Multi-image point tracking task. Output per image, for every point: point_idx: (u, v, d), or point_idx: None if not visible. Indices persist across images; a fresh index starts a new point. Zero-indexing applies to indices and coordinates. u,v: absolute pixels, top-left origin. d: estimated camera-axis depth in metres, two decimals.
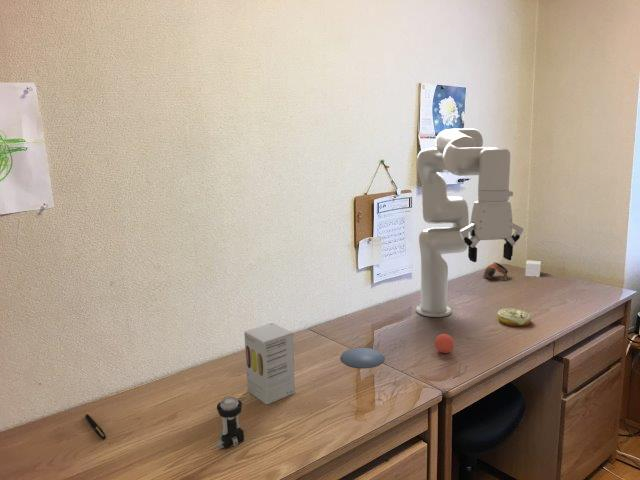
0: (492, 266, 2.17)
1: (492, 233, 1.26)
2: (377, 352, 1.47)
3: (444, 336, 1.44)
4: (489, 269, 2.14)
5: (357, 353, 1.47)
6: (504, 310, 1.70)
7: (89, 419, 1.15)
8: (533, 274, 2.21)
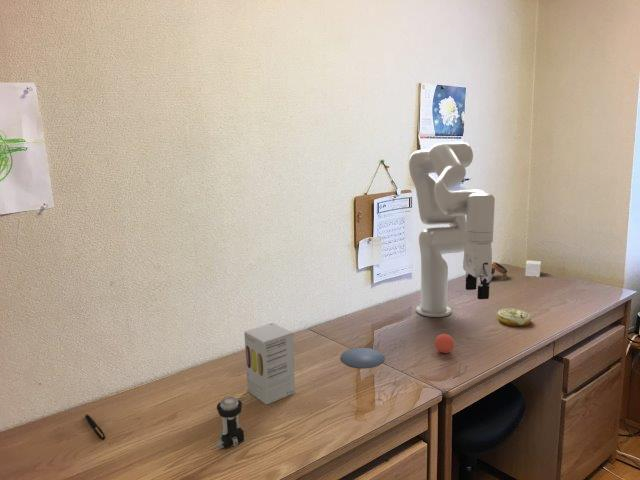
0: None
1: None
2: (377, 352, 1.47)
3: (444, 336, 1.44)
4: None
5: (357, 353, 1.47)
6: (504, 310, 1.70)
7: (89, 419, 1.15)
8: (533, 274, 2.21)
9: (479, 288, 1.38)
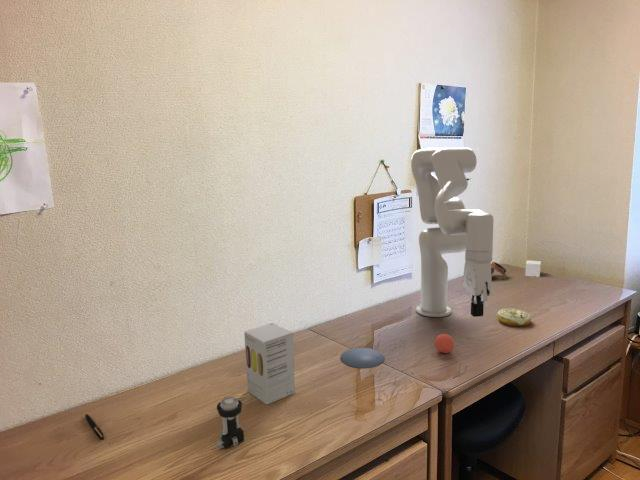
0: (491, 266, 2.18)
1: None
2: (377, 352, 1.47)
3: (444, 336, 1.44)
4: None
5: (357, 353, 1.47)
6: (504, 310, 1.70)
7: (89, 419, 1.15)
8: (533, 274, 2.21)
9: (474, 306, 1.43)
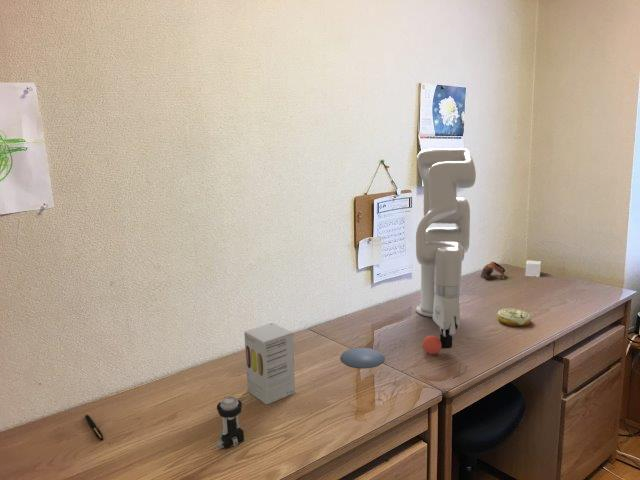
0: (490, 265, 2.19)
1: None
2: (377, 352, 1.47)
3: (425, 344, 1.44)
4: (487, 268, 2.16)
5: (357, 353, 1.47)
6: (504, 310, 1.70)
7: (88, 420, 1.15)
8: (533, 274, 2.21)
9: (443, 338, 1.44)
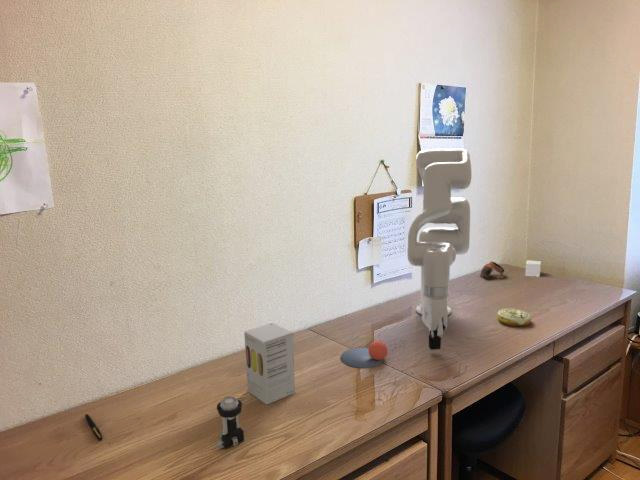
0: (489, 265, 2.19)
1: None
2: None
3: (371, 348, 1.41)
4: (486, 268, 2.16)
5: (357, 353, 1.47)
6: (504, 310, 1.70)
7: (88, 419, 1.15)
8: (533, 274, 2.21)
9: (431, 339, 1.44)
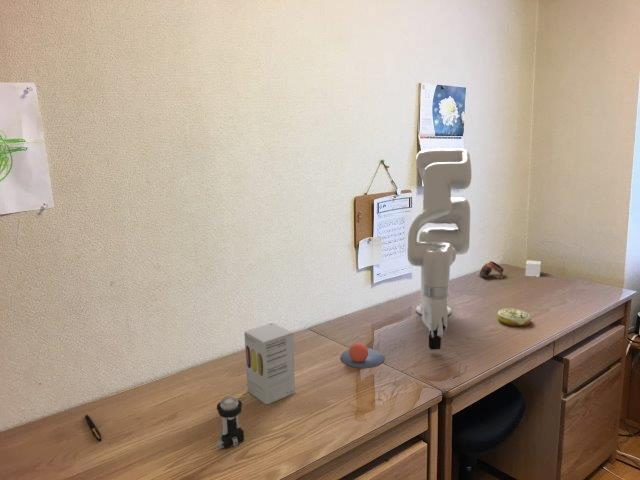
0: (488, 265, 2.19)
1: None
2: (377, 352, 1.47)
3: None
4: (485, 268, 2.16)
5: None
6: (504, 310, 1.70)
7: (88, 420, 1.15)
8: (533, 274, 2.21)
9: (431, 339, 1.44)
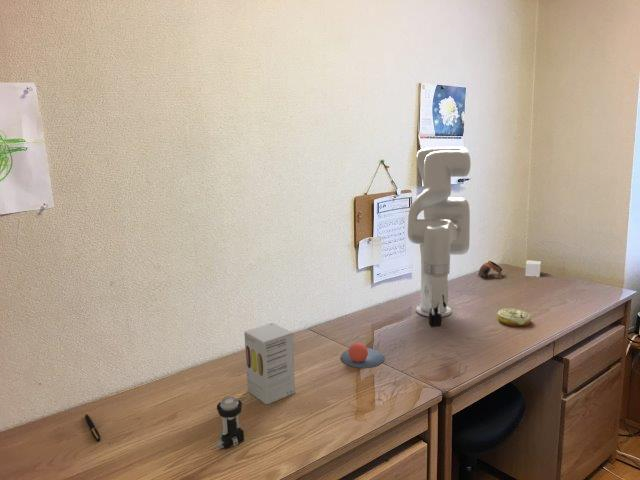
0: (487, 264, 2.20)
1: None
2: (377, 352, 1.47)
3: None
4: (484, 267, 2.17)
5: None
6: (504, 310, 1.70)
7: (87, 420, 1.14)
8: (533, 274, 2.21)
9: (431, 317, 1.44)
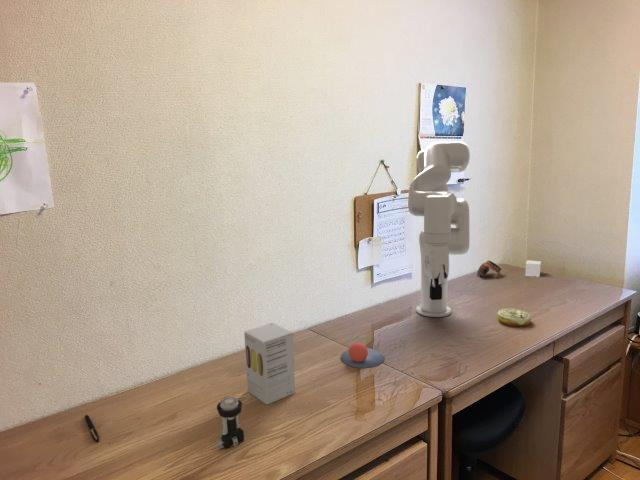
0: (486, 264, 2.21)
1: None
2: (377, 352, 1.47)
3: None
4: (483, 267, 2.18)
5: None
6: (504, 310, 1.70)
7: (87, 420, 1.14)
8: (533, 274, 2.21)
9: (432, 289, 1.41)
